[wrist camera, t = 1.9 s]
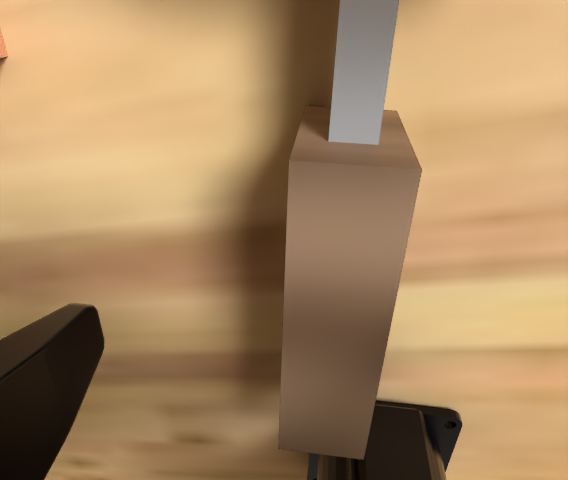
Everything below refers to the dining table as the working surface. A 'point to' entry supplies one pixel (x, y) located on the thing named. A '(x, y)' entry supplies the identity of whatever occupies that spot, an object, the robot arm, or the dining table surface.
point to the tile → (2, 47)
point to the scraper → (344, 242)
